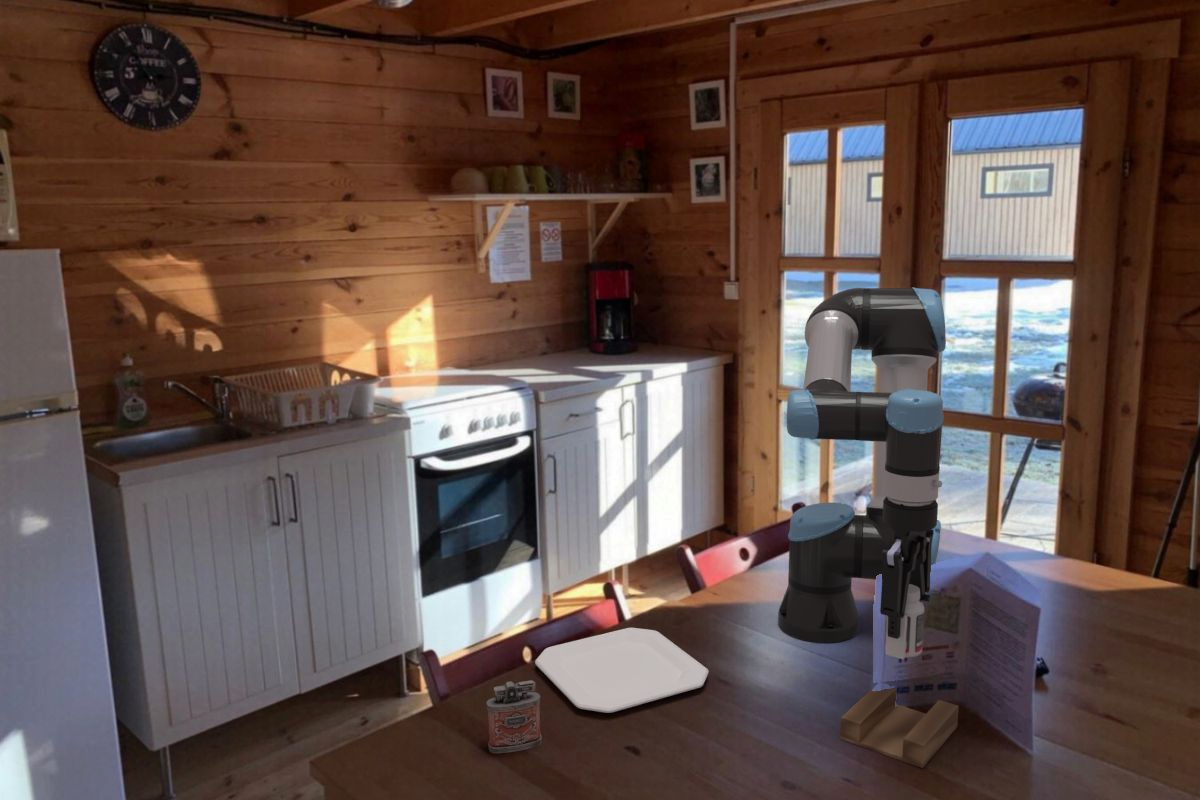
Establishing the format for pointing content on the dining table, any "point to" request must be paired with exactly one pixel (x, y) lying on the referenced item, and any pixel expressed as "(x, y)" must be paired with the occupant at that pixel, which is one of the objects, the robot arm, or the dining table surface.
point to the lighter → (514, 718)
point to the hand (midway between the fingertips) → (903, 648)
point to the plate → (620, 669)
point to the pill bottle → (913, 622)
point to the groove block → (898, 727)
